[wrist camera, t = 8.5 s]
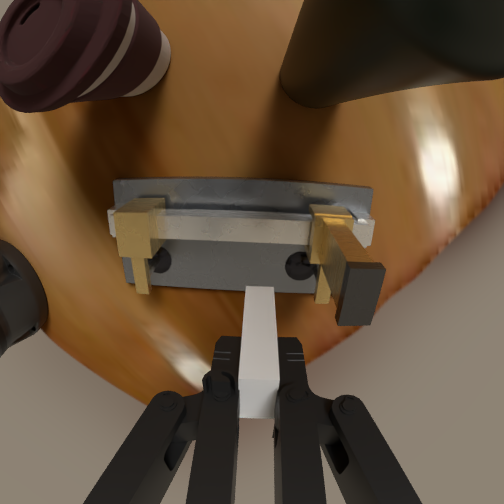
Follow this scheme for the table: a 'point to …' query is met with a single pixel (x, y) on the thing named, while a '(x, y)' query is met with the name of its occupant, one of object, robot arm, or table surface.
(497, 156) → the table surface
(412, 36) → the wine bottle
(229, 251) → the trammel plate
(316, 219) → the sliding leg
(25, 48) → the coffee cup
